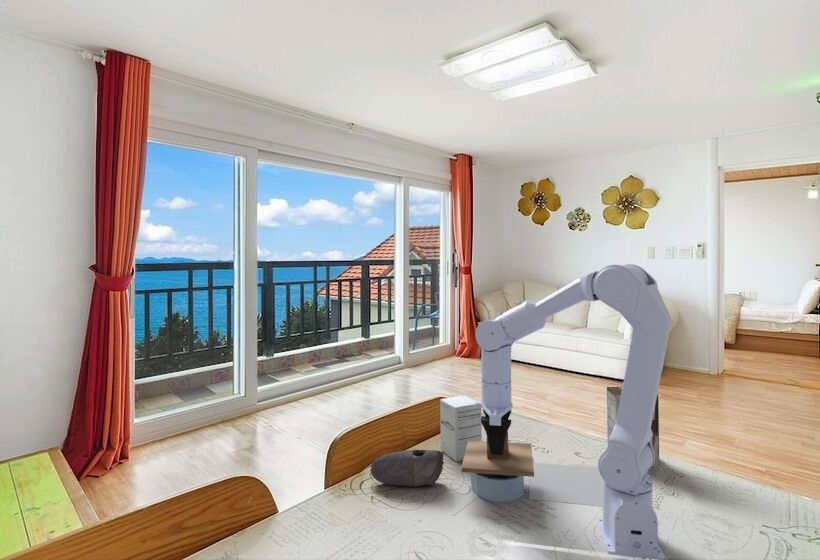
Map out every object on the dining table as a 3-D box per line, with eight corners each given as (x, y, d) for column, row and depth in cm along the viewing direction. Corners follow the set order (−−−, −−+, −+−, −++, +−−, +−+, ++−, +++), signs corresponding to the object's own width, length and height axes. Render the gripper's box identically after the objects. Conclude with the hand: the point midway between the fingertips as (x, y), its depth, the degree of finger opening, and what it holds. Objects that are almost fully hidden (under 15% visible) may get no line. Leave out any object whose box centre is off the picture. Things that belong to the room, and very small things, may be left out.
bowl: (524, 506, 81) (524, 482, 81) (469, 501, 83) (469, 477, 83) (523, 480, 91) (522, 459, 91) (474, 476, 93) (473, 455, 93)
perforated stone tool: (368, 489, 88) (367, 455, 88) (373, 477, 94) (372, 444, 93) (443, 492, 87) (443, 457, 87) (444, 479, 92) (443, 446, 92)
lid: (534, 476, 79) (533, 450, 79) (461, 472, 82) (460, 446, 82) (531, 447, 92) (530, 424, 92) (468, 444, 95) (467, 422, 95)
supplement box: (439, 450, 107) (439, 398, 106) (466, 444, 110) (465, 394, 109) (455, 462, 100) (454, 407, 100) (483, 456, 103) (482, 402, 103)
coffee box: (647, 455, 102) (647, 386, 101) (660, 468, 95) (660, 394, 95) (606, 454, 103) (605, 385, 102) (616, 467, 96) (616, 393, 96)
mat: (622, 510, 79) (621, 508, 79) (529, 501, 83) (529, 498, 83) (604, 470, 95) (604, 468, 95) (526, 464, 98) (526, 461, 98)
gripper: (478, 371, 94) (479, 433, 95) (472, 389, 80) (473, 463, 81) (512, 372, 93) (512, 436, 93) (512, 391, 79) (512, 466, 79)
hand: (496, 449), depth 87 cm, fingers closed on lid, 4 cm apart
